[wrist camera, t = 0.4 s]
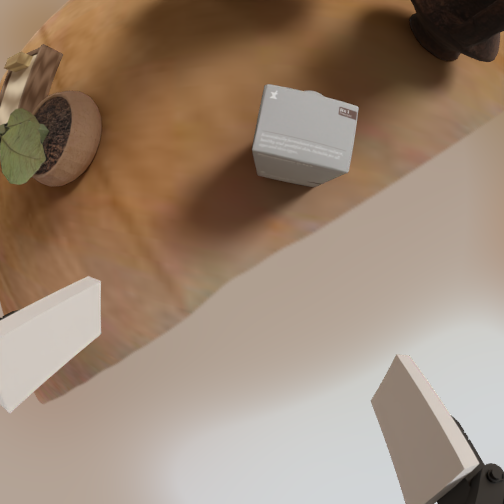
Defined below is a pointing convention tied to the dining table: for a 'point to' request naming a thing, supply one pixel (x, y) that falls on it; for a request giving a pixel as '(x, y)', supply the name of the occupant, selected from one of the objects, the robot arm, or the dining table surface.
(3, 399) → the robot arm
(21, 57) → the lid
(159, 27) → the dining table surface
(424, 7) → the jug
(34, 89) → the box
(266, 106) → the skincare box
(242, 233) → the dining table surface
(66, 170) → the potted plant
